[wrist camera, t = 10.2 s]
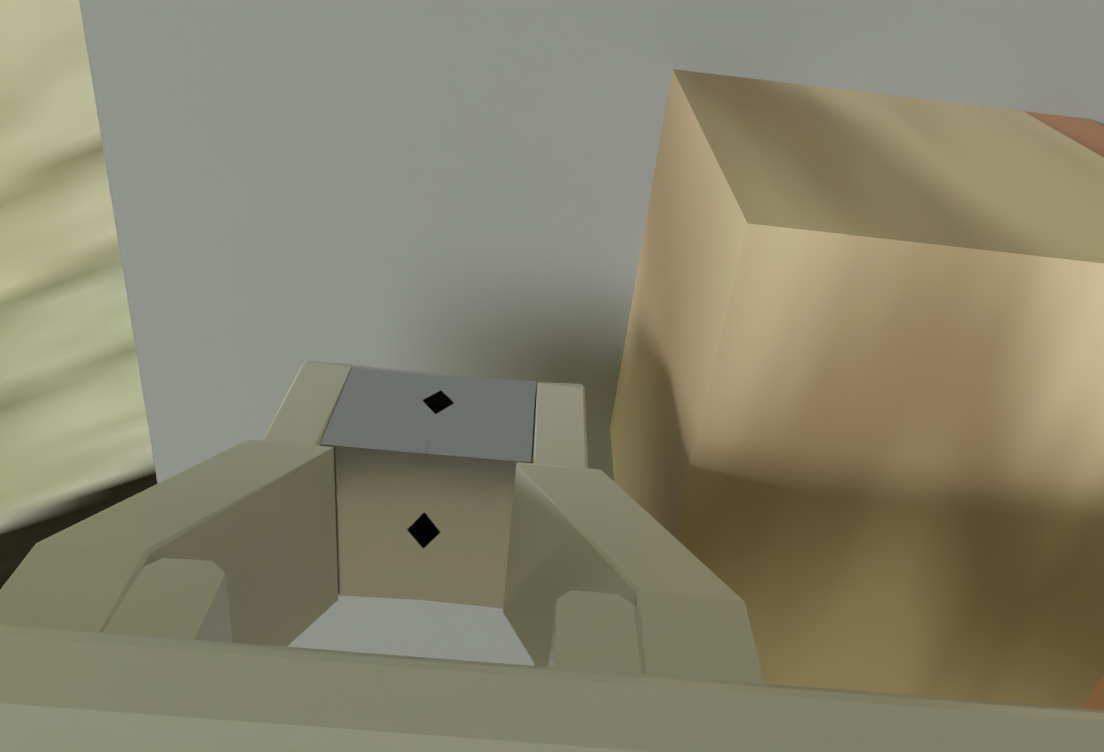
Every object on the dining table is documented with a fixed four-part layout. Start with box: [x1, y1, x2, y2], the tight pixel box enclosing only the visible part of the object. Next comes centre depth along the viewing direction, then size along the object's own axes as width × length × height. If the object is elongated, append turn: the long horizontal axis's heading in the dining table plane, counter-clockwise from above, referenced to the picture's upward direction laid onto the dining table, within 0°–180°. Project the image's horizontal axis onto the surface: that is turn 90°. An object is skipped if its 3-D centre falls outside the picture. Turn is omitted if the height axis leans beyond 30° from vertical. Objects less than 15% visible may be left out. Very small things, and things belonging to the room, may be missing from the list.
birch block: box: [610, 69, 1104, 710], centre depth 12 cm, size 6×6×6 cm
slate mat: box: [79, 0, 1104, 666], centre depth 14 cm, size 20×24×1 cm
